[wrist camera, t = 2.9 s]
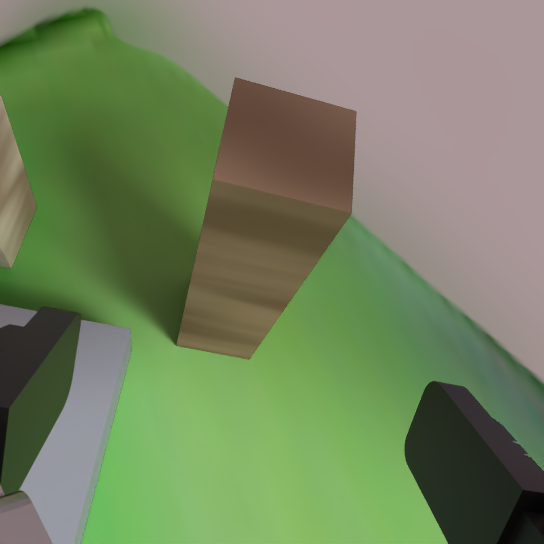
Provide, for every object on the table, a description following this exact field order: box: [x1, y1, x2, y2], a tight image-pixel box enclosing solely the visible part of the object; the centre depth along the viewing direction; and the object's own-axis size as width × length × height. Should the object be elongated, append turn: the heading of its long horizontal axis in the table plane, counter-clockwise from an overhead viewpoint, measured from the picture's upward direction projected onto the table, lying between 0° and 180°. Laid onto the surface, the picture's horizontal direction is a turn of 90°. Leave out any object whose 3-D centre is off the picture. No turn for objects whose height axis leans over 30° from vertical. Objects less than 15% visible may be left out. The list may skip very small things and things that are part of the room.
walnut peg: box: [176, 78, 356, 359], centre depth 20 cm, size 4×4×14 cm
